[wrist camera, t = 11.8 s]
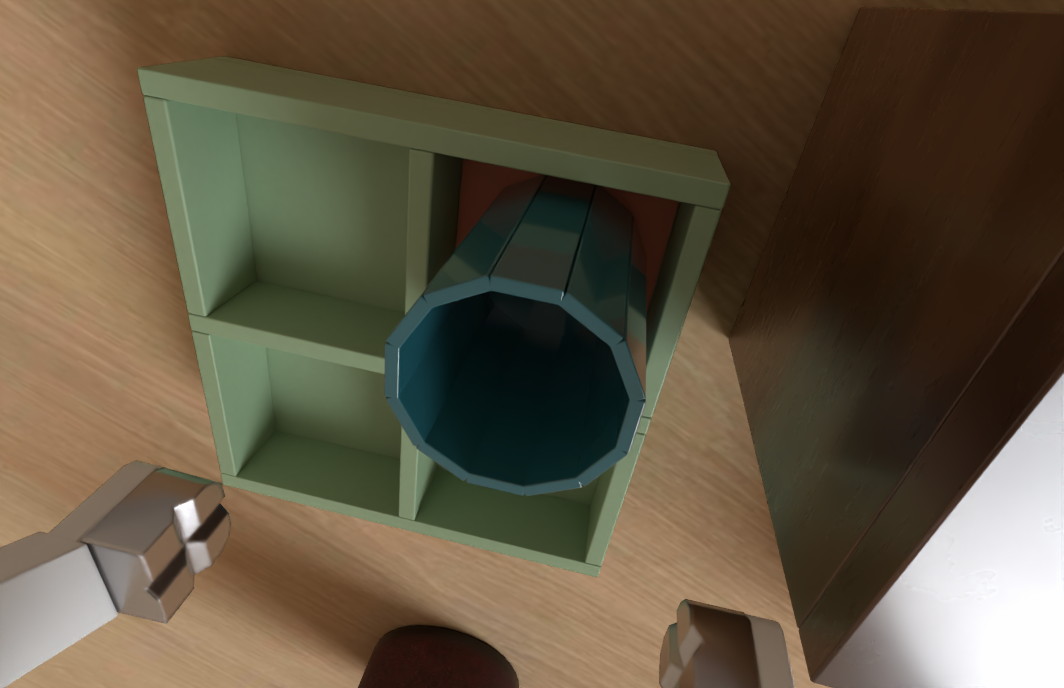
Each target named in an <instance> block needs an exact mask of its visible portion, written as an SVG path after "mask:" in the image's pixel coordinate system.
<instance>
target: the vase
mask: <svg viewBox="0 0 1064 688" xmlns="http://www.w3.org/2000/svg"><path fill="white" fill-rule="evenodd" d="M358 688H519V681H518V678H517V675H516V673H515V671H514V669H513V668H512V666H511V665H510V664H509V663H508V661H507V660H506V659H505V658H504V657H503V656H501V655H500V654H499V653H498V652H497V651H495V650H494V649H492V648H491V647H489V646H488V645H486V644H484V643H482V642H481V641H479V640H477V639H474V638H472V637H470V636H468V635H465V634H462V633H459V632H456V631H452V630H448V629H444V628H437V627H429V626H412V627H405V628H400V629H397V630H394V631H391V632H390V633H388V634H386V635H385V636H383V637H382V638H381V639H380V641H379V642H378V644H377V645H376V647H375V649H374V651H373V653H372V656H371V658H370V660H369V663H368V665H367V667H366V670H365V672H364V674H363V677H362V679H361V681H360V684H359V686H358Z"/></svg>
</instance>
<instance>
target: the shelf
mask: <svg viewBox="0 0 1064 688" xmlns="http://www.w3.org/2000/svg"><path fill="white" fill-rule="evenodd" d="M729 343H730V347H731V352H732V356H733V360H734V364H735V368H736V373H737V377H738V381H739V385H740V389H741V394H742V398H743V402H744V406H745V410H746V414H747V419H748V423H749V427H750V431H751V435H752V440H753V444H754V448H755V452H756V456H757V460H758V465H759V469H760V473H761V477H762V481H763V486H764V490H765V494H766V498H767V502H768V507H769V511H770V515H771V519H772V523H773V527H774V532H775V536H776V540H777V544H778V548H779V553H780V557H781V561H782V565H783V569H784V573H785V578H786V582H787V586H788V590H789V594H790V599H791V603H792V607H793V611H794V615H795V620H796V624H797V627H798V628H799V635H800V639H801V643H802V647H803V651H804V656H805V660H806V664H807V668H808V672H809V676H810V680H811V681H812V682H813V683H817V684H821V685H825V686H829V687H832V688H1064V12H1043V11H1004V10H965V9H927V8H888V7H861V8H860V10H859V13H858V15H857V18H856V20H855V23H854V25H853V28H852V30H851V33H850V35H849V38H848V40H847V43H846V45H845V48H844V50H843V53H842V55H841V58H840V61H839V63H838V66H837V68H836V71H835V73H834V76H833V78H832V81H831V83H830V86H829V88H828V91H827V93H826V96H825V98H824V101H823V103H822V106H821V108H820V111H819V113H818V116H817V118H816V121H815V124H814V126H813V129H812V131H811V134H810V136H809V139H808V141H807V144H806V146H805V149H804V151H803V154H802V156H801V159H800V161H799V164H798V166H797V169H796V171H795V174H794V176H793V179H792V181H791V184H790V186H789V189H788V192H787V194H786V197H785V199H784V202H783V204H782V207H781V209H780V212H779V214H778V217H777V219H776V222H775V224H774V227H773V229H772V232H771V234H770V237H769V239H768V242H767V244H766V247H765V249H764V252H763V255H762V257H761V260H760V262H759V265H758V267H757V270H756V272H755V275H754V277H753V280H752V282H751V285H750V287H749V290H748V292H747V295H746V297H745V300H744V302H743V305H742V307H741V310H740V312H739V315H738V318H737V320H736V323H735V325H734V328H733V330H732V333H731V335H730V338H729Z"/></svg>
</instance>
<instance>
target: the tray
mask: <svg viewBox="0 0 1064 688" xmlns="http://www.w3.org/2000/svg"><path fill="white" fill-rule="evenodd" d="M137 72H138V77H139V82H140V86H141V91H142V94H144V95H145V96H144V97H143V99H144V104H145V109H146V113H147V118H148V123H149V128H150V133H151V138H152V142H153V147H154V152H155V157H156V162H157V166H158V171H159V176H160V181H161V186H162V191H163V195H164V200H165V205H166V210H167V215H168V219H169V224H170V229H171V234H172V239H173V244H174V248H175V253H176V258H177V263H178V268H179V272H180V277H181V282H182V287H183V292H184V297H185V301H186V306H187V311H188V312H189V313H188V317H189V322H190V327H191V329H192V336H193V341H194V346H195V351H196V355H197V360H198V365H199V370H200V375H201V379H202V384H203V389H204V394H205V399H206V404H207V408H208V413H209V418H210V423H211V428H212V432H213V437H214V442H215V447H216V452H217V457H218V461H219V466H220V471H221V477H222V482H223V484H224V485H227V486H231V487H235V488H239V489H243V490H247V491H251V492H255V493H259V494H263V495H267V496H271V497H275V498H279V499H283V500H287V501H291V502H295V503H299V504H304V505H308V506H312V507H316V508H320V509H324V510H328V511H332V512H336V513H340V514H344V515H348V516H352V517H356V518H360V519H364V520H368V521H372V522H376V523H380V524H384V525H388V526H392V527H396V528H400V529H404V530H408V531H412V532H416V533H420V534H424V535H428V536H432V537H436V538H440V539H445V540H449V541H453V542H457V543H461V544H465V545H469V546H473V547H477V548H481V549H485V550H489V551H493V552H497V553H501V554H505V555H509V556H513V557H517V558H521V559H525V560H529V561H533V562H537V563H541V564H545V565H549V566H553V567H557V568H561V569H565V570H569V571H573V572H577V573H581V574H585V575H590V576H594V577H598V575H599V572H600V569H601V565H602V562H603V559H604V557H605V554H606V551H607V548H608V545H609V542H610V539H611V536H612V533H613V530H614V527H615V524H616V521H617V518H618V515H619V512H620V509H621V507H622V504H623V501H624V498H625V495H626V492H627V489H628V486H629V483H630V480H631V477H632V474H633V471H634V468H635V465H636V462H637V459H638V456H639V454H640V451H641V448H642V445H643V442H644V439H645V436H646V433H647V430H648V427H649V424H650V421H651V417H652V415H653V413H654V410H655V407H656V404H657V401H658V398H659V395H660V392H661V389H662V386H663V383H664V380H665V377H666V374H667V371H668V368H669V365H670V362H671V360H672V357H673V354H674V351H675V348H676V345H677V342H678V339H679V336H680V333H681V330H682V327H683V324H684V321H685V318H686V315H687V312H688V310H689V307H690V304H691V301H692V298H693V295H694V292H695V289H696V286H697V283H698V280H699V277H700V274H701V271H702V268H703V265H704V262H705V260H706V257H707V254H708V251H709V248H710V245H711V242H712V239H713V236H714V233H715V230H716V227H717V224H718V221H719V218H720V215H721V209H723V207H724V204H725V201H726V198H727V195H728V192H729V189H730V186H731V184H730V182H729V180H728V177H727V175H726V173H725V171H724V169H723V166H722V164H721V162H720V160H719V157H718V155H717V152H716V151H714V150H709V149H704V148H699V147H693V146H688V145H683V144H678V143H673V142H667V141H662V140H657V139H652V138H647V137H641V136H636V135H631V134H626V133H621V132H615V131H610V130H605V129H600V128H595V127H589V126H584V125H579V124H574V123H569V122H564V121H558V120H553V119H548V118H543V117H538V116H532V115H527V114H522V113H517V112H512V111H506V110H501V109H496V108H491V107H486V106H480V105H475V104H470V103H465V102H460V101H454V100H449V99H444V98H439V97H434V96H428V95H423V94H418V93H413V92H408V91H402V90H397V89H392V88H387V87H382V86H376V85H371V84H366V83H361V82H356V81H350V80H345V79H340V78H335V77H330V76H325V75H319V74H314V73H309V72H304V71H299V70H293V69H288V68H283V67H278V66H273V65H267V64H262V63H257V62H252V61H247V60H241V59H236V58H231V57H226V56H221V57H214V58H207V59H199V60H192V61H184V62H176V63H168V64H161V65H153V66H145V67H139V68H137ZM542 174H544V175H549V176H554V177H559V178H564V179H569V180H574V181H579V182H584V183H589V184H594V185H599V186H602V187H603V188H604V189H606V190H607V191H608V192H609V193H610V194H611V195H612V196H613V197H615V198H616V199H617V200H618V201H619V202H620V203H621V204H623V205H624V206H625V207H626V208H627V209H628V210H629V211H630V212H632V216H634V217H635V220H636V224H637V227H638V230H639V233H640V237H641V240H642V243H643V246H644V250H645V253H646V256H647V259H646V260H647V271H646V403H645V407H644V410H643V413H642V416H641V419H640V422H639V425H638V428H637V431H636V434H635V437H634V440H633V443H632V447H631V450H630V452H628V454H627V456H625V457H624V458H623V459H621V460H620V461H618V462H617V463H616V464H614V465H613V466H612V467H610V468H609V469H608V470H606V471H605V472H604V473H602V474H601V475H600V476H598V477H597V478H596V479H594V480H593V481H592V482H590V483H589V484H587V485H586V486H583V485H582V487H581V488H576V489H569V490H563V491H557V492H550V493H544V494H537V495H531V496H526V495H525V493H524V495H523V496H521V495H517V494H512V493H508V492H504V491H500V490H496V489H491V488H487V487H483V486H479V485H475V484H471V483H467V482H466V479H465V480H464V481H462V480H461V479H459V478H458V477H457V476H455V475H454V474H452V473H451V472H449V471H448V470H446V469H445V468H444V467H442V466H441V465H439V464H438V463H436V462H435V461H434V460H432V459H431V458H429V457H428V456H426V455H425V454H423V453H422V452H421V451H419V450H418V449H416V446H417V445H416V446H414V445H413V444H412V443H411V441H410V439H409V438H408V436H407V434H406V433H405V431H404V429H403V428H402V426H401V424H400V423H399V421H398V419H397V418H396V416H395V414H394V413H393V411H392V409H391V408H390V406H389V404H388V403H387V401H386V396H385V395H384V381H385V343H386V339H387V337H388V336H389V335H390V334H391V332H392V331H393V330H394V328H395V327H396V326H397V325H398V323H399V322H400V321H401V319H402V318H403V317H404V316H405V314H406V313H407V312H408V310H409V309H410V308H411V306H412V305H413V304H414V303H415V301H416V300H417V299H418V297H419V296H420V295H421V294H422V292H423V291H424V290H425V288H426V287H427V286H428V285H429V283H430V282H431V281H432V279H433V278H434V277H435V275H436V274H437V273H438V272H439V270H440V269H441V268H442V266H443V265H444V264H445V263H446V261H447V260H448V259H449V257H450V256H451V255H452V254H453V252H454V251H455V250H456V248H457V247H458V246H459V244H460V243H461V242H462V241H463V239H464V238H465V237H466V235H467V234H468V233H469V232H470V230H471V229H472V228H473V226H474V225H475V224H476V223H477V221H478V220H479V219H480V217H481V216H482V215H483V214H484V212H485V211H486V210H487V208H488V207H489V206H490V205H491V203H492V202H493V201H494V200H495V198H496V197H497V196H498V194H499V193H500V192H501V191H502V190H504V188H505V187H508V186H511V185H514V184H516V183H519V182H522V181H525V180H528V179H530V178H533V177H536V176H539V175H542Z"/></svg>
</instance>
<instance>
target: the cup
mask: <svg viewBox="0 0 1064 688" xmlns="http://www.w3.org/2000/svg"><path fill="white" fill-rule="evenodd" d="M646 259H647V256H646V253H645V250H644V246H643V243H642V240H641V237H640V233H639V230H638V227H637V224H636V220H635V217H634V216H632V212H630V211H629V210H628V209H627V208H626V207H625V206H624V205H623V204H621V203H620V202H619V201H618V200H617V199H616V198H615V197H613V196H612V195H611V194H610V193H609V192H608V191H607V190H606V189H604V188H603V187H602V186H599V185H594V184H589V183H584V182H579V181H574V180H569V179H564V178H559V177H554V176H549V175H544V174H542V175H539V176H536V177H533V178H530V179H528V180H525V181H522V182H519V183H516V184H514V185H511V186H508V187H505V188H504V190H502V191H501V192H500V193H499V194H498V196H497V197H496V198H495V200H494V201H493V202H492V203H491V205H490V206H489V207H488V208H487V210H486V211H485V212H484V214H483V215H482V216H481V217H480V219H479V220H478V221H477V223H476V224H475V225H474V226H473V228H472V229H471V230H470V232H469V233H468V234H467V235H466V237H465V238H464V239H463V241H462V242H461V243H460V244H459V246H458V247H457V248H456V250H455V251H454V252H453V254H452V255H451V256H450V257H449V259H448V260H447V261H446V263H445V264H444V265H443V266H442V268H441V269H440V270H439V272H438V273H437V274H436V275H435V277H434V278H433V279H432V281H431V282H430V283H429V285H428V286H427V287H426V288H425V290H424V291H423V292H422V294H421V295H420V296H419V297H418V299H417V300H416V301H415V303H414V304H413V305H412V306H411V308H410V309H409V310H408V312H407V313H406V314H405V316H404V317H403V318H402V319H401V321H400V322H399V323H398V325H397V326H396V327H395V328H394V330H393V331H392V332H391V334H390V335H389V336H388V337H387V339H386V343H385V381H384V395H385V396H386V401H387V403H388V404H389V406H390V408H391V409H392V411H393V413H394V414H395V416H396V418H397V419H398V421H399V423H400V424H401V426H402V428H403V429H404V431H405V433H406V434H407V436H408V438H409V439H410V441H411V443H412V444H413V445H414V446H416V445H417V446H416V449H418V450H419V451H421V452H422V453H423V454H425V455H426V456H428V457H429V458H431V459H432V460H434V461H435V462H436V463H438V464H439V465H441V466H442V467H444V468H445V469H446V470H448V471H449V472H451V473H452V474H454V475H455V476H457V477H458V478H459V479H461V480H462V481H464V480H465V479H466V482H467V483H471V484H475V485H479V486H483V487H487V488H491V489H496V490H500V491H504V492H508V493H512V494H517V495H521V496H523V495H524V493H525V495H526V496H531V495H537V494H544V493H550V492H557V491H563V490H569V489H576V488H581V487H582V485H583V486H586V485H587V484H589V483H590V482H592V481H593V480H594V479H596V478H597V477H598V476H600V475H601V474H602V473H604V472H605V471H606V470H608V469H609V468H610V467H612V466H613V465H614V464H616V463H617V462H618V461H620V460H621V459H623V458H624V457H625V456H627V454H628V452H630V450H631V447H632V443H633V440H634V437H635V434H636V431H637V428H638V425H639V422H640V419H641V416H642V413H643V410H644V407H645V403H646V271H647V260H646Z"/></svg>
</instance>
